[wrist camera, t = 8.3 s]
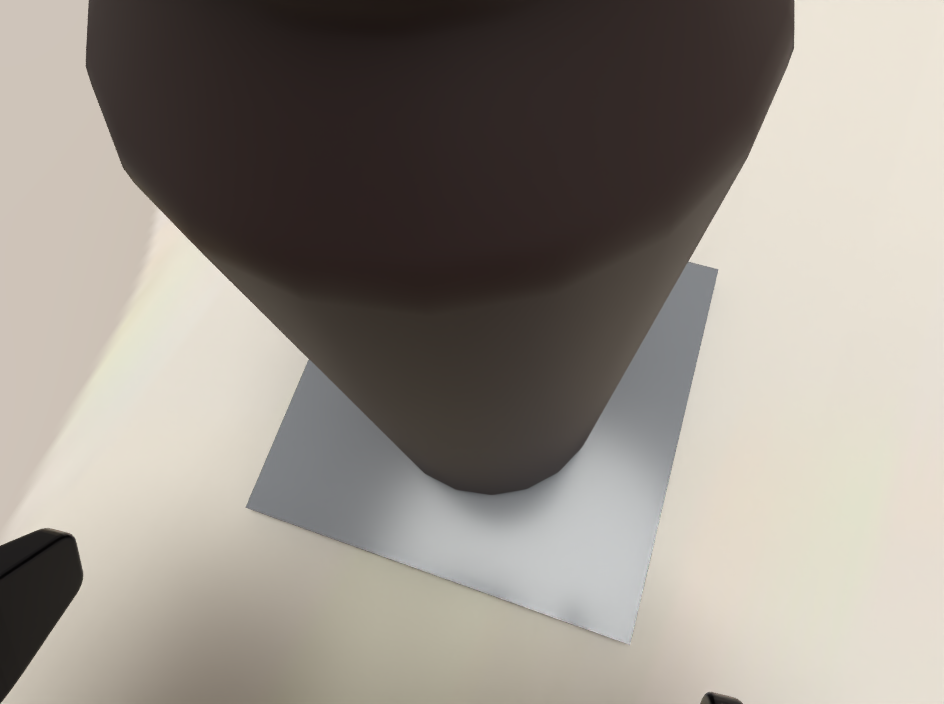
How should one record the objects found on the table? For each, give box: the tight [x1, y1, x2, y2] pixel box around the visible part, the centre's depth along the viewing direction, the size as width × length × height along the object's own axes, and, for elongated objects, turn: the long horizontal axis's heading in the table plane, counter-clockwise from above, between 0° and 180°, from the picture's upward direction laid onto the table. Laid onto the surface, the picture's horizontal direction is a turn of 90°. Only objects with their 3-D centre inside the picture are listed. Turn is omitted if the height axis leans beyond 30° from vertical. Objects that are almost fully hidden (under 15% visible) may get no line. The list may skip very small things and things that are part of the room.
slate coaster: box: [246, 262, 718, 645], centre depth 20 cm, size 12×12×1 cm
